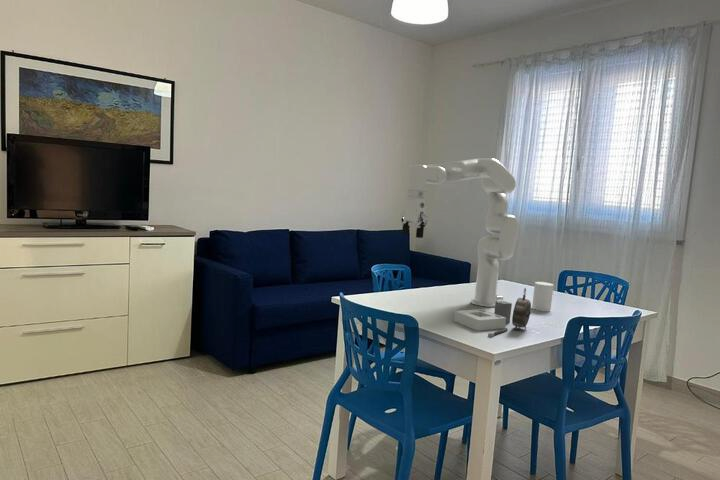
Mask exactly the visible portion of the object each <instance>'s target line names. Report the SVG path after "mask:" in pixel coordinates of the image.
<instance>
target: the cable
mask: <svg viewBox="0 0 720 480" xmlns="http://www.w3.org/2000/svg"><path fill="white" fill-rule="evenodd" d="M508 330H509V328H508V327H505V328H501V329H500V330H497V331H495V332H493V331H492V332H488V334H487V337H489V338H494V337H495V336H497V335H499V334H502V333H504V332H507V331H508Z"/></svg>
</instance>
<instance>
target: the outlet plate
mask: <svg viewBox="0 0 720 480" xmlns="http://www.w3.org/2000/svg"><path fill="white" fill-rule="evenodd" d="M453 312H454V313H453V322H455V323H458V324H461V325H463V326H465V327H468V328H471V329H473V330H475V331H488V330H499V329H500V330H502V329H505V328H506V327H507V325H506V324H507V323H506V318H505V317H502V316H499V315H496V314H494V312H490V311H487V310H485V309H482V308H479V309H467V310H466V309H462V310H454V311H453Z"/></svg>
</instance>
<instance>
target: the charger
mask: <svg viewBox="0 0 720 480" xmlns="http://www.w3.org/2000/svg"><path fill="white" fill-rule="evenodd" d="M512 306H513V303H512V302H508V301H505V300H498V301H496V302H495V307H494V312H493V313H494V314H496V315H499V316H502V317H505V318H506V324H510V323H511V317H512V316H511V314H512Z"/></svg>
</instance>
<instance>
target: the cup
mask: <svg viewBox="0 0 720 480" xmlns="http://www.w3.org/2000/svg"><path fill="white" fill-rule="evenodd" d="M554 286H555V285H554V284H553V283H550V282H545V281H534V288H533V294H532V295H533V297H532V303H531V309H533V310H535V309H536V310H535V311H539V310H541V311H540V312H550V310H551V309H552V303H553V302H552V301H553V294H554V293H553V292H554Z"/></svg>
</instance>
